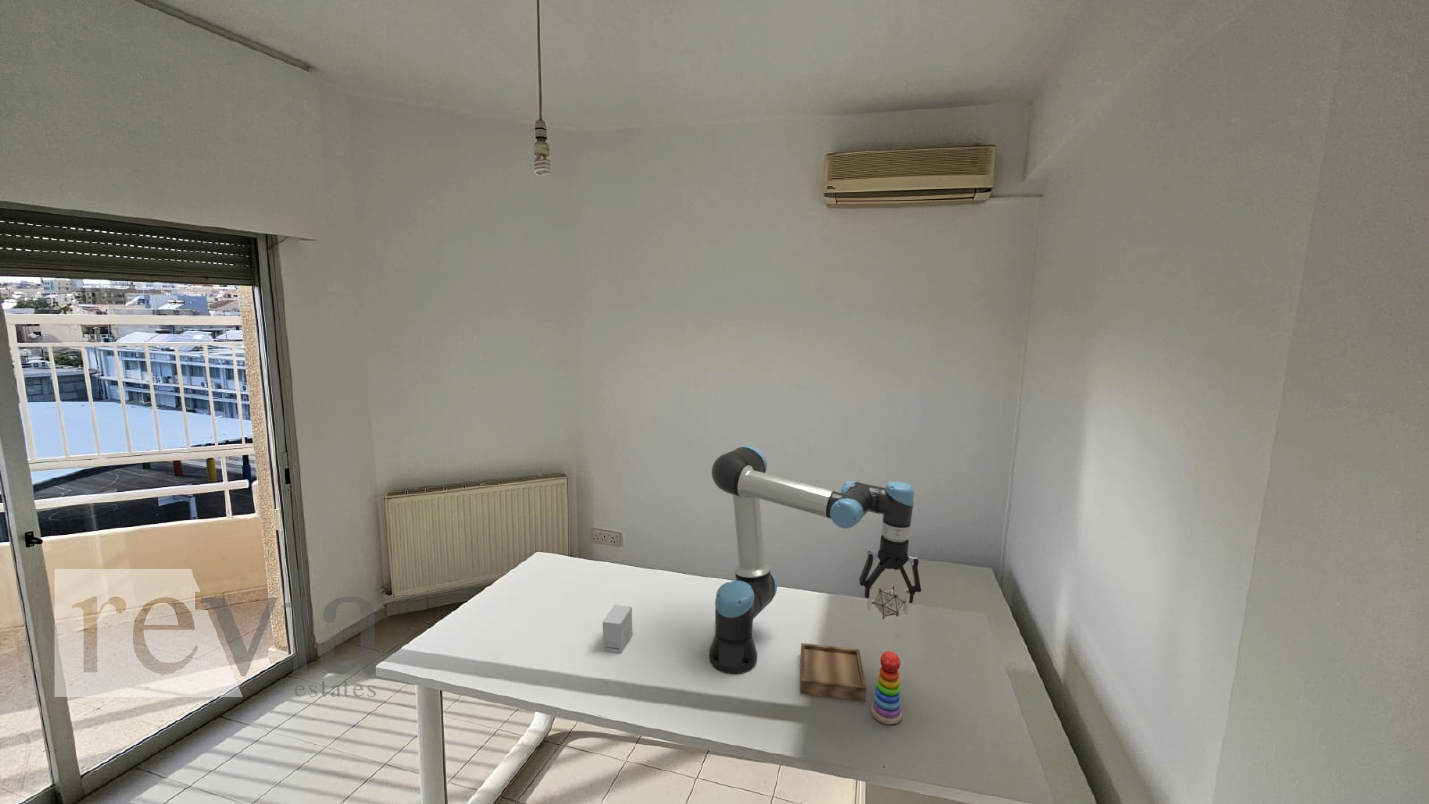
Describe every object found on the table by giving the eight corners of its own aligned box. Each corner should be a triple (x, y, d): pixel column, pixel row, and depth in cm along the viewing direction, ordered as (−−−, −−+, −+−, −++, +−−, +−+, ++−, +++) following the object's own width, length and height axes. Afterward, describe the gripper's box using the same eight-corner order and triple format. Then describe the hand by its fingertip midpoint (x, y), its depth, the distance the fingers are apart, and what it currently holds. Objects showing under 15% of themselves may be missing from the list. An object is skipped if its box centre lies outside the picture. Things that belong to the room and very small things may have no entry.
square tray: (800, 693, 154) (801, 680, 154) (800, 655, 172) (801, 643, 171) (865, 701, 152) (866, 688, 151) (858, 661, 169) (859, 649, 169)
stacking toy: (866, 705, 150) (871, 643, 147) (894, 704, 151) (899, 642, 148) (877, 726, 142) (882, 662, 140) (906, 725, 143) (912, 661, 140)
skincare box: (614, 632, 182) (614, 604, 180) (632, 635, 181) (632, 606, 179) (602, 651, 172) (601, 621, 170) (621, 654, 171) (621, 623, 169)
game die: (892, 630, 155) (909, 616, 148) (864, 616, 156) (880, 602, 149) (896, 603, 161) (912, 588, 154) (869, 590, 162) (884, 575, 155)
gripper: (856, 538, 150) (848, 612, 153) (939, 547, 146) (930, 622, 150) (853, 527, 157) (846, 598, 161) (932, 535, 154) (923, 607, 158)
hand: (886, 610), depth 156 cm, fingers closed on game die, 9 cm apart
